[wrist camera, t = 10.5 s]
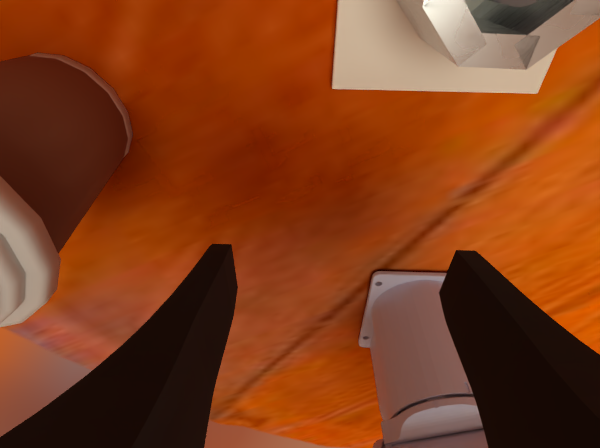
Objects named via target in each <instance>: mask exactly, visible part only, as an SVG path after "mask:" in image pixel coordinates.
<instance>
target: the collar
mask: <svg viewBox="0 0 600 448" xmlns="http://www.w3.org/2000/svg"><path fill="white" fill-rule="evenodd" d="M396 1H397V3H398V4H399V6H400V7H401V9H402V11H403V12H404V14H405V15H406V17H407V19H408V20H409V22H410V23H411V25H412V26H413V28H414V30H415V31H416V33H417V34H418V36H419V37H420V38H421V39H422V40H423V41H425V42H426V43H427V44H429V45H430V46H431V47H433V48H434V49H435V50H437V51H438V52H439V53H441V54H442V55H443V56H445V57H446V58H447V59H449V60H450V61H451V62H453V63H454V64H455V65H457V66H458V67H478V68H499V69H521V70H527V69H528V68H529V67H531V66H532V65H534V64H535V63H537V62H538V61H539V60H541V59H542V58H544V57H545V56H546V55H548V54H549V53H551V52H552V51H554V50H555V49H556V48H558V47H559V46H561V45H562V44H564V43H565V42H566V41H568V40H569V39H571V38H572V37H573V36H575V35H576V34H578V33H579V32H581V31H582V30H583V29H585V28H586V27H588V26H589V25H590V24H592V23H593V22H595V21H596V20H598V19H599V18H600V0H539V1H537V2H535V3H533V4H531V5H528V6H523V7H513V6H509V5H505V4H501V3H497V2H493V1H489V0H485V1H483V2H482V3H481V4H480V5H479V6H477V7H476V8H475V9H474V10H473V11H471V12H470V10H469V8H468V7H467V5H466V3H465V1H464V0H396Z"/></svg>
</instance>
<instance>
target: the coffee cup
mask: <svg viewBox="0 0 600 448" xmlns="http://www.w3.org/2000/svg"><path fill="white" fill-rule="evenodd" d="M132 135H133V133H132V128H131V124H130V119H129V115H128V111H127V110H126V108H125V106H124V105H123V103H122V102H121V100H120V98H119V97H118V95H117V94H116V92H115V90H114V89H113V88H112V87H111V86H110V85H109V84H108V83H107V82H105V81H104V80H103V79H102V78H101V77H100V76H99V75H98V74H96V73H95V72H94V71H93V70H92V69H91V68H89V67H87V66H85V65H83V64H80V63H78V62H76V61H74V60H72V59H70V58H68V57H66V56H64V55H55V54H45V53H35V54H32V55H29V56H25V57H20V58H15V59H10V60H5V61H1V62H0V327H3V326H8V325H13V324H18V323H22V322H24V321H25V320H26V319H28V318H29V317H30V316H31V315H32V314H34V313H35V312H36V311H37V310H38V309H39V308H41V307H42V306H43V305H44V304H45V303H47V301H48V300H49V299H50V298H51V296H52V295H53V294H54V292H55V291H56V290H57V285H58V277H59V269H60V261H61V259H60V257H59V254H58V253H59V252H60V250H61V249H62V248H63V246H64V245H65V243H66V242H67V240H68V239H69V237H70V236H71V234H72V233H73V231H74V230H75V228H76V227H77V225H78V224H79V223H80V221H81V220H82V218H83V217H84V215H85V214H86V212H87V211H88V209H89V208H90V206H91V205H92V203H93V202H94V200H95V199H96V198H97V196H98V195H99V193H100V192H101V190H102V189H103V187H104V186H105V184H106V183H107V181H108V180H109V178H110V177H111V175H112V174H113V173H114V171H115V170H116V168H117V167H118V165H119V164H120V162H121V161H122V159H123V158H124V157H125V155H126V154H127V153H128V152H129V148H130V144H131V140H132Z"/></svg>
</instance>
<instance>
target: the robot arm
mask: <svg viewBox="0 0 600 448" xmlns="http://www.w3.org/2000/svg"><path fill="white" fill-rule="evenodd" d="M237 288H238V286H237V280H236V273H235V266H234V259H233V252H232V246H231V244H212V245H211V246H210V247H209V248H208V249H207V251H206V252H205V253H204V255H203V256H202V257H201V259H200V260H199V261H198V263H197V264H196V265H195V267H194V268H193V269H192V270H191V272H190V273H189V274H188V276H187V277H186V278H185V279H184V280H183V282H182V283H181V284H180V285H179V286H178V288H177V289H176V290H175V291H174V292H173V294H172V295H171V296H170V297H169V298H168V299H167V300H166V301H165V302H164V304H163V305H162V306H161V307H160V308H159V309H158V310H157V311H156V312H155V313H154V314H153V315H152V317H151V318H150V319H149V320H148V321H147V322H146V323H145V324H144V325H143V326H142V327H141V328H140V329H139V330H138V331H137V332H136V333H134V334H133V335H132V336H131V337H130V338H129V339H128V340H127V341H126V342H125V343H124V344H123V345H122V346H121V347H119V348H118V349H117V350H116V351H115V352H114V353H112V354H111V355H110V356H109V357H108V358H107V359H106V360H104V361H103V362H102V363H101V364H100V365H99V366H97V367H96V368H95V369H94V370H92V371H91V372H90V373H89V374H88V375H87V376H85V377H84V378H83V379H81V380H80V381H79V382H77V383H76V384H75V385H73V386H72V387H71V388H69V389H68V390H67V391H65V392H64V393H63V394H61V395H60V396H59V397H57V398H56V399H55V400H53V401H52V402H51V403H50V404H48V405H47V406H45V407H44V408H43V409H41V410H40V411H38V412H37V413H36V414H34V415H33V416H31V417H30V418H28V419H27V420H25V421H24V422H22V423H21V424H19V425H18V426H16V427H15V428H13V429H12V430H10V431H9V432H7V433H6V434H4V435H3V436H1V437H0V448H204V444H205V438H206V432H207V426H208V420H209V414H210V409H211V403H212V397H213V392H214V388H215V383H216V379H217V376H218V372H219V368H220V365H221V361H222V357H223V353H224V350H225V346H226V342H227V339H228V335H229V331H230V327H231V324H232V320H233V316H234V309H235V303H236V295H237ZM358 343H359V346H361V347H370V350H371V357H372V363H373V370H374V376H375V383H376V389H377V396H378V402H379V408H380V412H381V416H382V418H383V421H382V422H381V426H382V433H383V439H381V440H378V441H376V442H375V443H374V445H373V448H600V355H599V354H598V353H596V352H595V351H594V350H592V349H591V348H589V347H588V346H587V345H585V344H584V343H582V342H581V341H580V340H579V339H577V338H576V337H575V336H573V335H572V334H571V333H569V332H568V331H567V330H566V329H564V328H563V327H562V326H561V325H559V324H558V323H557V322H556V321H555V320H553V319H552V318H551V317H550V316H548V315H547V314H546V313H545V312H544V311H542V310H541V309H540V308H539V307H538V306H537V305H535V304H534V303H533V302H532V301H531V300H530V299H528V298H527V297H526V296H525V295H524V294H523V293H522V292H521V291H519V290H518V289H517V288H516V287H515V286H514V285H513V284H512V283H511V282H509V281H508V280H507V279H506V278H505V277H504V276H503V275H502V274H501V273H500V272H499V271H497V270H496V269H495V268H494V267H493V266H492V265H491V264H490V263H489V262H488V261H486V260H485V259H484V258H483V257H482V256H481V255H480V254H478V253H477V252H476V251H463V250H456V252H455V254H454V257H453V259H452V262H451V264H450V267H449V269H448V271H447V273H431V272H393V271H377V272H375V273H374V274H373V275H372V279H371V284H370V288H369V293H368V298H367V302H366V307H365V312H364V316H363V321H362V326H361V330H360V335H359V340H358Z"/></svg>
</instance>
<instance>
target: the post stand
mask: <svg viewBox="0 0 600 448" xmlns="http://www.w3.org/2000/svg"><path fill="white" fill-rule="evenodd" d="M464 1H465V3H466V5H467V7H468V8H469V10H470V12H471V11H473V10H474V9H475V8H476V7H477V6H479V5H480V4H481V3H482V2H483V1H485V0H464ZM489 1H493V2H497V3H501V4H505V5H509V6H513V7H523V6H528V5H531V4H533V3H535V2H537V1H539V0H489ZM556 50H557V48H556V49H555V50H554V51H552V52H551V53H549V54H548V55H546V56H545V57H544V58H542V59H541V60H539V61H538V62H537V63H535V64H534V65H532V66H531V67H529V68H528V69H527V70H521V69H499V68H478V67H458V66H457V65H455V64H454V63H453V62H451V61H450V60H449V59H447V58H446V57H445V56H443V55H442V54H441V53H439V52H438V51H437V50H435V49H434V48H433V47H431V46H430V45H429V44H427V43H426V42H425V41H423V40H422V39H421V38H420V37H419V36H418V34H417V33H416V31H415V30H414V28H413V26H412V25H411V23H410V22H409V20H408V19H407V17H406V15H405V14H404V12H403V11H402V9H401V7H400V6H399V4H398V3H397V1H396V0H338V2H337V16H336V30H335V44H334V58H333V72H332V89H359V90H403V91H447V92H490V93H534V94H537V93H538V91H539V88H540V86H541V84H542V82H543V79H544V77H545V75H546V73H547V70H548V68H549V66H550V63H551V61H552V59H553V57H554V54H555V52H556Z"/></svg>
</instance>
